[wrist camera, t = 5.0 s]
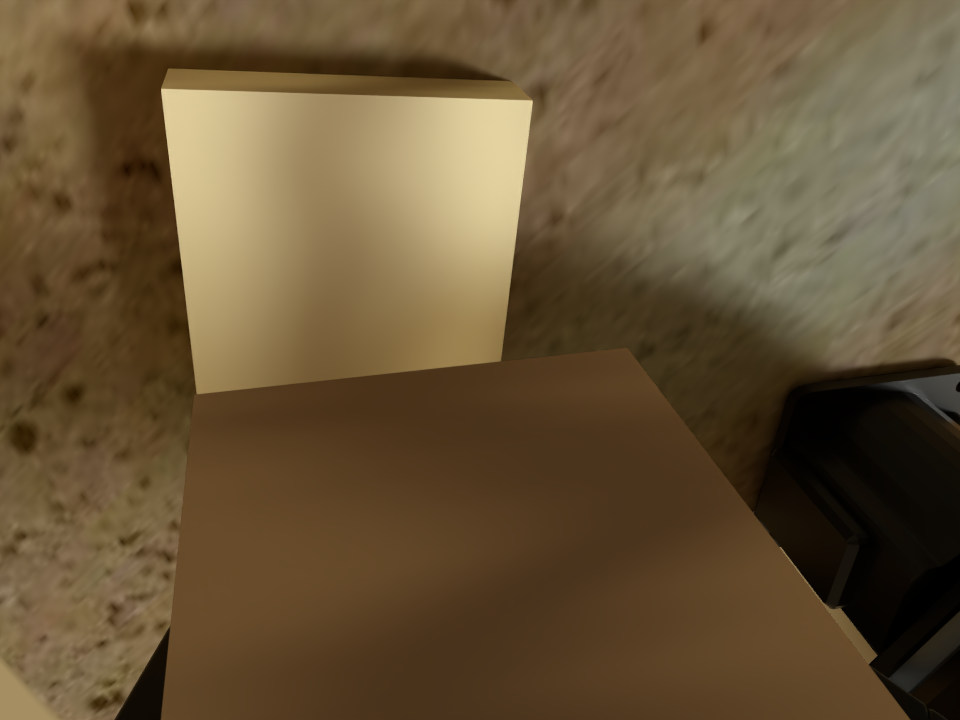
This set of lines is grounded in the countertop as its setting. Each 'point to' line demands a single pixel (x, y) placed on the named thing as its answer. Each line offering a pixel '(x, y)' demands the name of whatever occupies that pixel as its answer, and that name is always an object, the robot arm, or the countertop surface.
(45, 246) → the countertop surface
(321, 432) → the walnut cube
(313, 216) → the birch block
